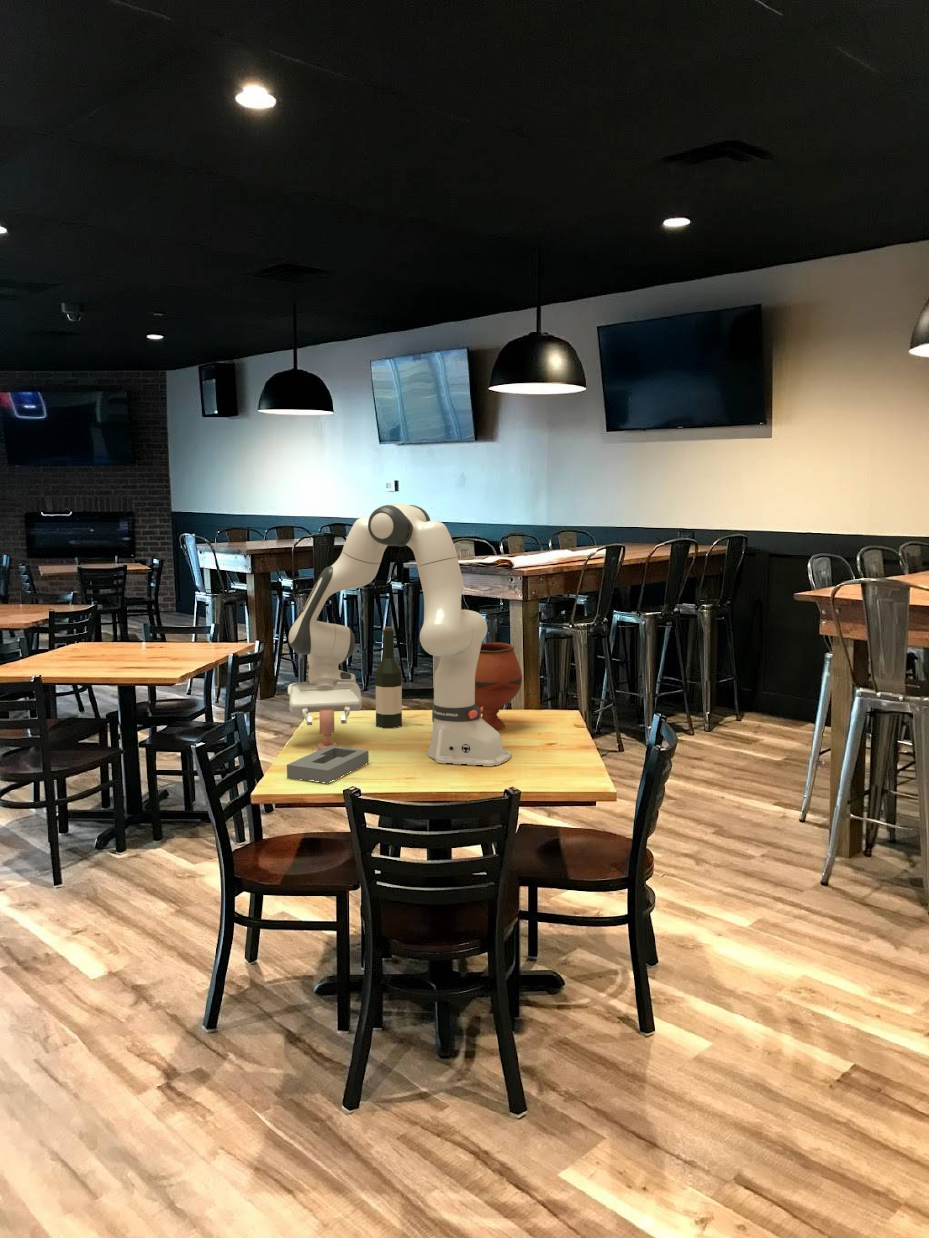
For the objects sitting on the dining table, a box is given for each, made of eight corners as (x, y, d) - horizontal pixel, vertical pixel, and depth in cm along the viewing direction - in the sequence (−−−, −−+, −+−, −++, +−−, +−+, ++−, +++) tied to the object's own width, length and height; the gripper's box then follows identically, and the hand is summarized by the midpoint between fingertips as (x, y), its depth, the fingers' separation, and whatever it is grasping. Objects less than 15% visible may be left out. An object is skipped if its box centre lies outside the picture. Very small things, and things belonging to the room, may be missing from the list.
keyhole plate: (329, 758, 270) (329, 745, 270) (368, 763, 265) (368, 750, 265) (287, 778, 252) (286, 764, 251) (328, 784, 247) (328, 770, 247)
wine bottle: (370, 726, 304) (369, 628, 300) (382, 720, 312) (381, 624, 308) (395, 729, 301) (394, 630, 297) (407, 723, 309) (406, 626, 305)
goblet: (447, 731, 299) (447, 648, 295) (472, 717, 316) (472, 639, 313) (508, 738, 291) (509, 653, 288) (530, 723, 309) (531, 643, 305)
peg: (339, 748, 280) (339, 709, 278) (330, 753, 275) (329, 713, 274) (324, 746, 282) (323, 708, 280) (314, 751, 277) (314, 711, 276)
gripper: (287, 676, 282) (288, 718, 274) (360, 674, 285) (363, 715, 277) (287, 689, 287) (288, 730, 278) (359, 686, 290) (362, 727, 282)
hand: (326, 723), depth 278 cm, fingers open, 8 cm apart
